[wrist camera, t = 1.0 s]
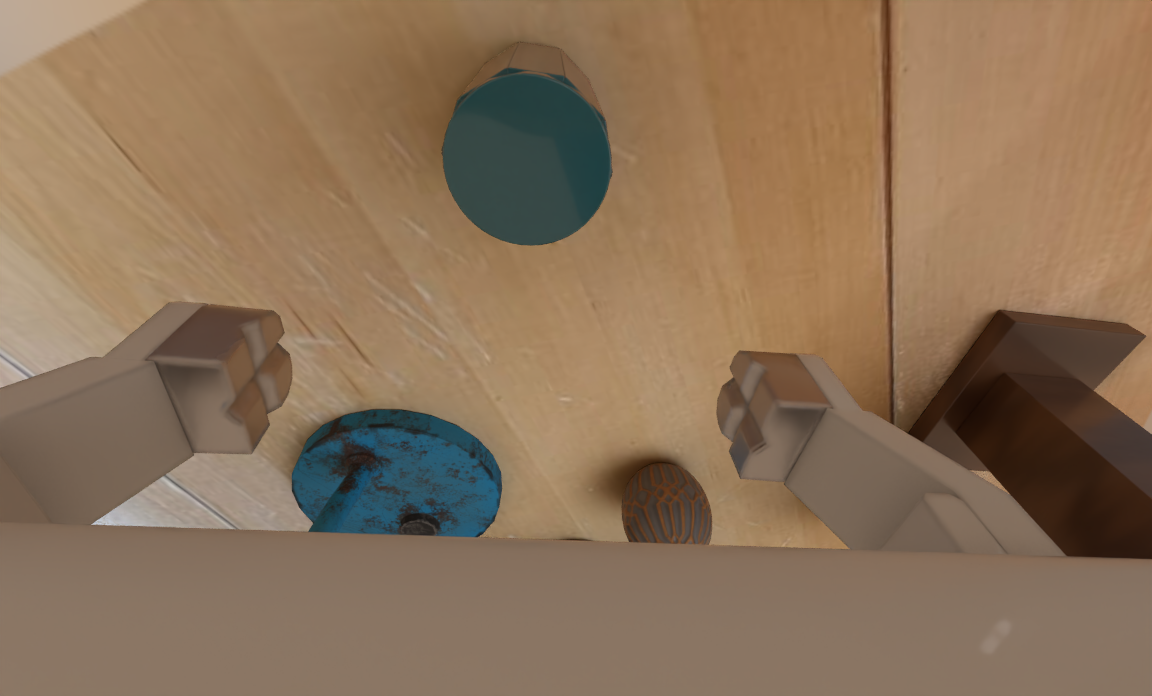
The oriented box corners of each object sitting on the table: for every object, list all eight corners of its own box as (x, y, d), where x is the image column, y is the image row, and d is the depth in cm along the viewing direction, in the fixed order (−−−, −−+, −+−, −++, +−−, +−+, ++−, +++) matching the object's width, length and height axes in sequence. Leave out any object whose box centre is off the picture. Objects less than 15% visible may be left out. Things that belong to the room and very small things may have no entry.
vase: (695, 500, 45) (723, 598, 38) (618, 507, 45) (631, 606, 38) (701, 446, 40) (734, 545, 33) (616, 454, 41) (630, 554, 33)
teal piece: (472, 34, 23) (436, 58, 16) (605, 55, 24) (631, 88, 17) (469, 165, 27) (439, 236, 19) (586, 180, 28) (600, 254, 20)
